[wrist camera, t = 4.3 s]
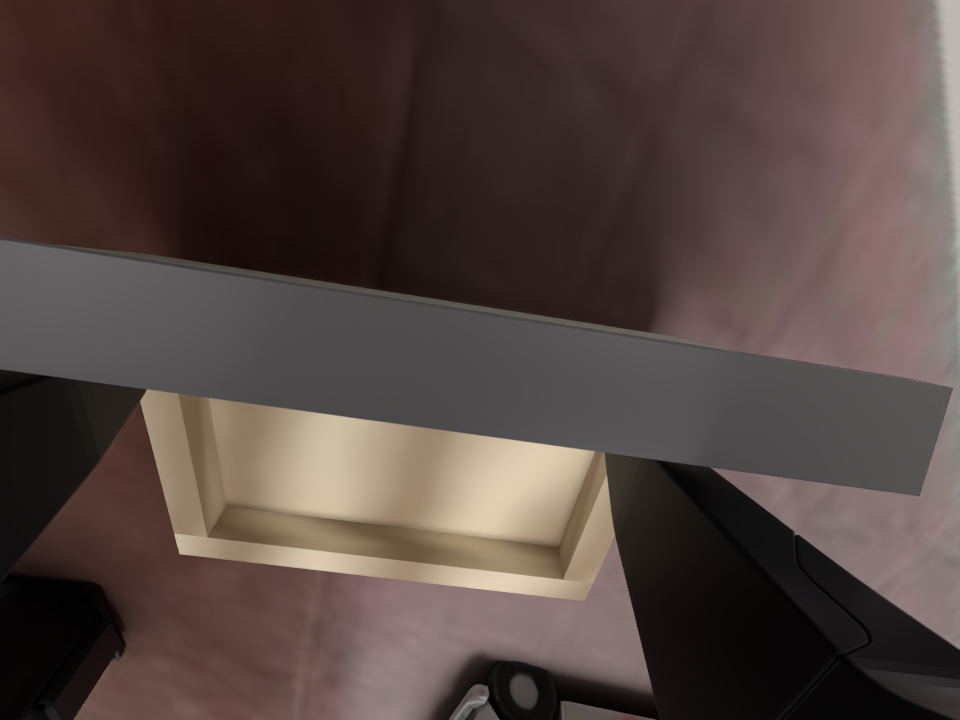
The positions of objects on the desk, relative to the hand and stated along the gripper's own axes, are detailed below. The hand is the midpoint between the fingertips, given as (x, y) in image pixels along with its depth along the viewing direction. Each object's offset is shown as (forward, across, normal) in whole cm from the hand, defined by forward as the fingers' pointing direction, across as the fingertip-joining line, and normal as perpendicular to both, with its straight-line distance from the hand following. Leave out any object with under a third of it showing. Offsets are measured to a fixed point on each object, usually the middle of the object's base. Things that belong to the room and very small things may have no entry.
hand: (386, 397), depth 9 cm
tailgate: (+6, 0, +1) cm, 6 cm away
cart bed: (+8, 0, +7) cm, 10 cm away
